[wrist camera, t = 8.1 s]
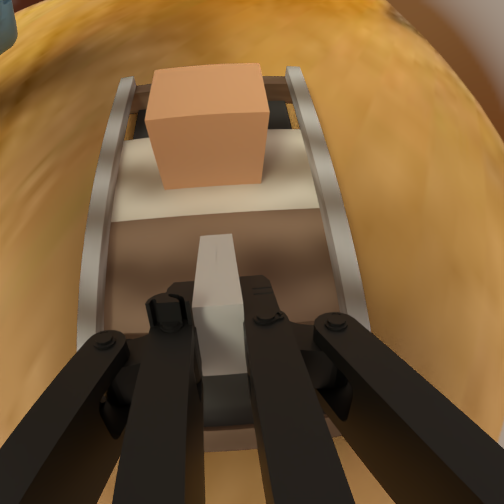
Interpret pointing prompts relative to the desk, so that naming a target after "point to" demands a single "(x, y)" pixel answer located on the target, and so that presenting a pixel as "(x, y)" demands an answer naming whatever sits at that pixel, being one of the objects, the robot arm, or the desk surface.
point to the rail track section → (215, 223)
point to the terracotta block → (208, 124)
